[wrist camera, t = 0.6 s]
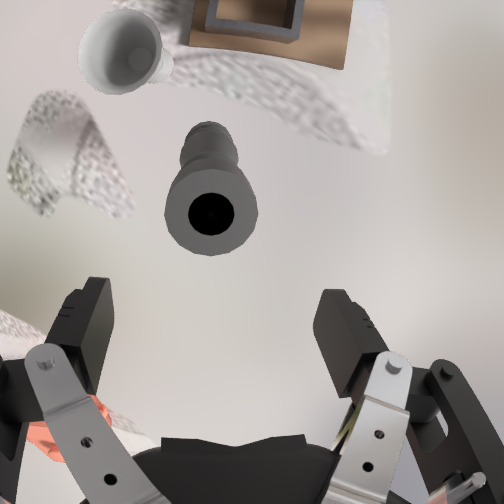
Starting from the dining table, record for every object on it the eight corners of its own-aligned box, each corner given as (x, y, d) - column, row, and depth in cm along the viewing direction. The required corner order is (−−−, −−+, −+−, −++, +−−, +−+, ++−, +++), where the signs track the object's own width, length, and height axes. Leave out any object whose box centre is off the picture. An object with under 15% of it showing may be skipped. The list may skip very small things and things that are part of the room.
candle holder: (175, 144, 41) (139, 216, 19) (209, 111, 39) (212, 142, 17) (208, 175, 43) (211, 276, 22) (241, 144, 42) (283, 214, 20)
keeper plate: (205, -44, 28) (205, -48, 27) (350, -16, 32) (355, -18, 30) (189, 46, 34) (188, 45, 33) (338, 69, 38) (343, 69, 37)
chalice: (188, 79, 37) (175, 73, 21) (139, 99, 37) (95, 110, 21) (170, 31, 33) (145, -6, 17) (121, 52, 33) (67, 33, 18)
